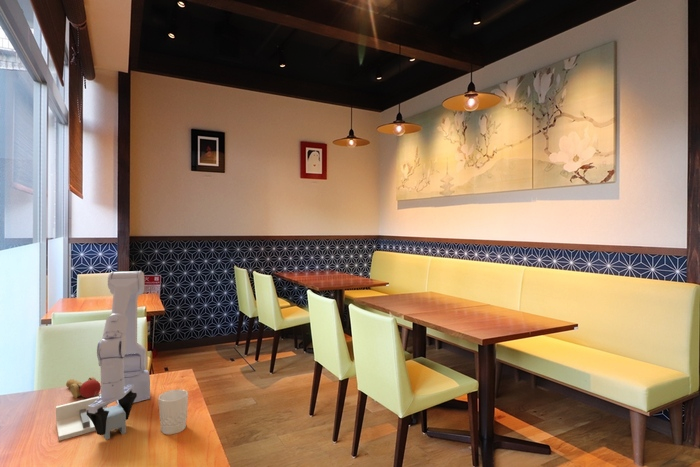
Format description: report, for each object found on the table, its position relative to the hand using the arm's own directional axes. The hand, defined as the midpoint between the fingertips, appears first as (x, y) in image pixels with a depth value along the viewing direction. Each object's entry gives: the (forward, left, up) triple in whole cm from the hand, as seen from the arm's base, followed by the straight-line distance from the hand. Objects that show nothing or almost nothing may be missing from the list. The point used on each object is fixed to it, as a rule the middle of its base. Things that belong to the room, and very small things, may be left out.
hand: (113, 426), depth 115 cm
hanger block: (0, 0, -2) cm, 2 cm away
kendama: (+4, -37, -2) cm, 37 cm away
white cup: (-14, +9, -2) cm, 17 cm away
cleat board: (+6, -10, -2) cm, 12 cm away
